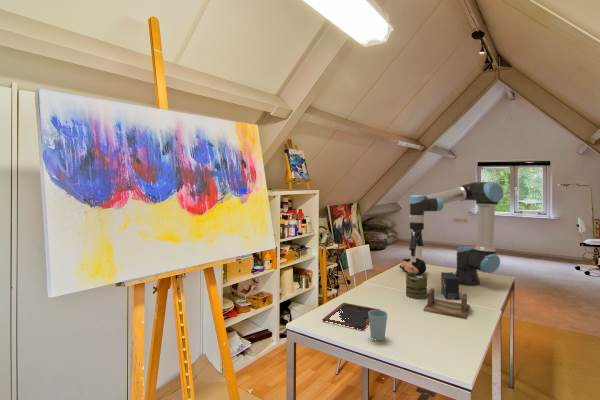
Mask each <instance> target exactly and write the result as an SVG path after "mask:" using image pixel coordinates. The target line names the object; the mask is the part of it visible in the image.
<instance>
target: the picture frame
mask: <svg viewBox="0 0 600 400" xmlns="http://www.w3.org/2000/svg"><path fill="white" fill-rule="evenodd" d="M340 309H341V310H342V311H343V313H342V311H341V310H340ZM371 310H381V309H380V308H374V307H369V306H365V305H364V306H363V305H358V304H353V303H348V302H342V303H341V304H340V305H339V306H337V307H336V308H334V310H332V311H331V312H330V313H328V314H327V315H326V316H324V318H322V319H321V321H322V320H323V321H328V322H333V323H337V324H341V325H345V326H349V327H354V328H358V329H362V330H364V329H365V328H366V326H367V325H368V324H369V315H368V312H369V311H371ZM338 311H339V313H340V311H341V313H340V314H339V315H341V316H339V317H340V318H342V319H341V320H342V321H343V320H344V321H345V322H340V321H335V320H330V319H329V318H330V317H331V316H332V315H334V314H335V313H336V312H338ZM345 318H346V319H345ZM348 318H349V319H348ZM369 325H370V324H369ZM369 325H368V326H369ZM368 326H367V327H368ZM366 329H367V328H366ZM366 329H365V330H366ZM365 330H364V331H365Z"/></svg>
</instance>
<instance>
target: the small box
mask: <svg viewBox="0 0 600 400" xmlns="http://www.w3.org/2000/svg"><path fill="white" fill-rule="evenodd" d="M440 274H441V278H440V281H441V282H440V284H441V285H440V286H441V289H440V290H441V293H442V295H443V296H444V298H445V299H446V300H447V301H450V300H451V301H453V300H454V301H459V300H460V284H459V278H458V277H457V276H456V275H455V273H454V272H441V273H440Z"/></svg>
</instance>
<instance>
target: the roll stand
mask: <svg viewBox="0 0 600 400" xmlns="http://www.w3.org/2000/svg"><path fill="white" fill-rule="evenodd" d="M467 302H468V293H466V292H463V294H462V296H461V298H460V302H456V301H452V300H451V301H450V300H444V299H439V298H438V299H437V298H435V288H433V287H431V288H430V289H429V291H427V303H426V305H425V306H424V308H423V312H426V313H427V312H428V313H432V314H438V315H443V316H449V317H453V318H458V319H464V320H466V319H467V316H468V314H469V310H470V307H471V304H468V303H467Z"/></svg>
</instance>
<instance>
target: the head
mask: <svg viewBox="0 0 600 400" xmlns="http://www.w3.org/2000/svg"><path fill="white" fill-rule="evenodd" d="M399 269H401V270H403V272H405V273H414V275H415V276H420V275H424V274H425V272H426V270H427V264H426V262H425V261H424V260H423V259H421V258H419V257H416V262H411V258H403V259H402V260H401V263H400V265H399Z"/></svg>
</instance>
